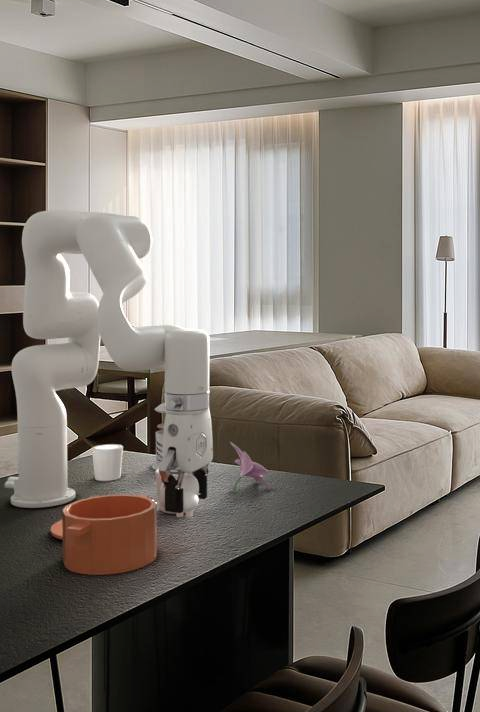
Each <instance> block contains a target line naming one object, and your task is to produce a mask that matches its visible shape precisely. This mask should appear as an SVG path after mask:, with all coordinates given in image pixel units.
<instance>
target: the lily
mask: <svg viewBox="0 0 480 712" xmlns="http://www.w3.org/2000/svg"><path fill="white" fill-rule="evenodd" d="M229 443H230V445H231V446H232V447H233V449H234V450H235V452H236V453H237V455H238V457H239V458H237V459H235V460H234V463H235V464H237V465H239V466H240V476H239V477H238V478H237V480H236V483H235V484H234V487H233V489H232V492H231V493H235V490H236V488H237V485H238V483H239V482H240V480H241V478H242V477H251V478H253V479H254V481H255V482H256V484H260V482H261V483H262V484H263V485H264V486H265V487H266V488H267V489H268V490H269V491H270V490H271V487H270V486H269V484H268V483H267V482H266V480H265V479H264V478H263V477H265V476H268V475H270V471H269V470H268V469H267V468H266V467H264V466H263V465H261V464H260V463H258V462H255V461H253V460H252V459H251V457H250V456H249V454H248V453H247V452H246V451H245V450H242V449H241V448H240V447H238V446H237V445H236V444H235V443H233V442H231V441H229Z"/></svg>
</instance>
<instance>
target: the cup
mask: <svg viewBox="0 0 480 712" xmlns="http://www.w3.org/2000/svg"><path fill="white" fill-rule="evenodd" d="M176 469H179V467H178V468H176ZM185 474H186V473H185ZM190 474H192V473H190ZM172 475H173V476H174V478H175V479H176V480H177V476H178V475H176V474H172ZM154 478H155V485H156V494H157V495H156V496H157V503H158V507H159V510H160V511H161V512H162V513H164V514H169V515H176V513H175V512H167V511H165V488H164V487H163V482H162V480H161V479H162V478H161V475H160V473H159V469H157V470H155V471H154Z"/></svg>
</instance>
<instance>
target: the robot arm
mask: <svg viewBox="0 0 480 712" xmlns="http://www.w3.org/2000/svg"><path fill="white" fill-rule="evenodd" d="M21 235H22V236H21V246H22V247H21V249H22V252H23V254H22V255H23V258H24V259H23V260H24V266H25V280H24V293H23V311H22V324H23V329H24V332H25V334H26V335H27V336H28V337H30V338H31V339H36V340H56V339H68V341H67V342H65V343H64V342H63V343H49V344H36V345H32V346H28V347H24V348H23V349H21V350H19V351H18V352H17V353H16V354H15V356H13V358H12V361H11V376H12V381H13V386H14V391H15V398H16V412H17V467H18V468H17V469H18V472H17V473H18V476H9V477H7V480H6V481H5V483H4V488H5V489H10V490H12V489H13V494H12V495H11V496H10V504H11V505H12V506H14V507H17V508H23V509H43V508H50V507H56V506H60V505H64V504H67V503H70V502H72V501H73V500H75V499H76V491H75V489H74V488H70V487H68V486H69V485H68V484H69V483H68V481H69V479H68V421H67V420H68V419H67V418H68V417H67V416H68V415H67V410H66V407H65V405H64V403H63V402H62V400H61V399H60V397H59V396H58V394H57V392H58V391H61V390H68V389H75V388H76V389H77V388H82V387H86V386H88V385H90V384H91V383H93V381H94V380H95V378H96V376H97V375H98V369H99V362H100V350H101V341H102V343H103V345H104V347H105V349H106V351H107V353H108V355H109V357H110V358H111V360H112V361H113V363H114V364H115V365H116V366H117V367H118V368H119V369H121V370H123V371H126V372H139V371H148V370H156V369H164V403H165V412H166V413H165V418H164V433H163V454H162V456H163V462H162V464H161V465H160V467H159V473H160V475H161V478H162V479H161V480H162V482H163V487H164V488H165V511H167V512H175V513H181V512H183V488H181V485H182V482H183V478H184V474H185V473H186V474H190V473H192V475H193V476H195V477H196V479H197V480H198V483H199V493H200V495H198V498H199V500H200V499H201V500H205V499H207V498H208V475H209V471H210V470H209V467H208V466H209V465H210V464H211V462H212V461H213V458H214V446H213V445H214V444H213V441H214V439H213V426H212V418H211V411H210V349H211V347H210V342H211V341H210V335H209V334H208V332H207V331H205V330H203V329H198V328H184V327H182V326H179V325H175V324H162V325H161V324H159V325H145V326H132V325H131V324H130V322H129V320H128V318H127V317H126V315H125V312H124V310H123V306H122V304H124V303H125V302H127V301H129V300H131V299H132V298H134V297H135V296H136V295H138V294H139V293H140V292H141V291H142V290H143V289H144V287H145V286H146V284H147V281H148V274H147V272H146V270H145V268H144V267H143V264H142V263H141V261H140V260H141V259H143V258H145V257H146V256H147V255H148V254H149V253H150V251H151V248H152V245H153V237H152V231H151V228H150V227H149V226H148V224H147V223H146V222H145V221H144V220H143V219H141V218H140V217H138V216H134V215H123V214H115V213H109V212H108V213H107V212H97V211H79V210H65V209H64V210H63V209H61V210H60V209H56V210H55V209H53V210H51V209H49V210H43V211H42V210H41V211H37V212H36V213H34V214H32V215H31V216H30V217H29V218H28V219H27V221H26V222H25V224H24V226H23V229H22V234H21ZM62 254H65V255H66V254H70V255H83V257H84V259H85V261H86V263H87V266H89V267H88V268H90V270H91V272H92V274H93V276H94V278H95V280H96V282H97V284H98V286H99V288H100V289H101V292H102V296H101V298H100V300H99V302H98V300H97V298H96V297H95V296H94V295H92V294H91V293H90V292H87V291H82V290H81V291H78V290H77V291H70V280H71V279H70V278H71V273H70V268H69V266H68V264H67V262H66V260H65V258H64V257H63V255H62ZM178 467H179V469H176V468H178ZM172 474H176V475H178V476H177V480H176V479H175V478H174V476H173V475H172Z"/></svg>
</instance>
